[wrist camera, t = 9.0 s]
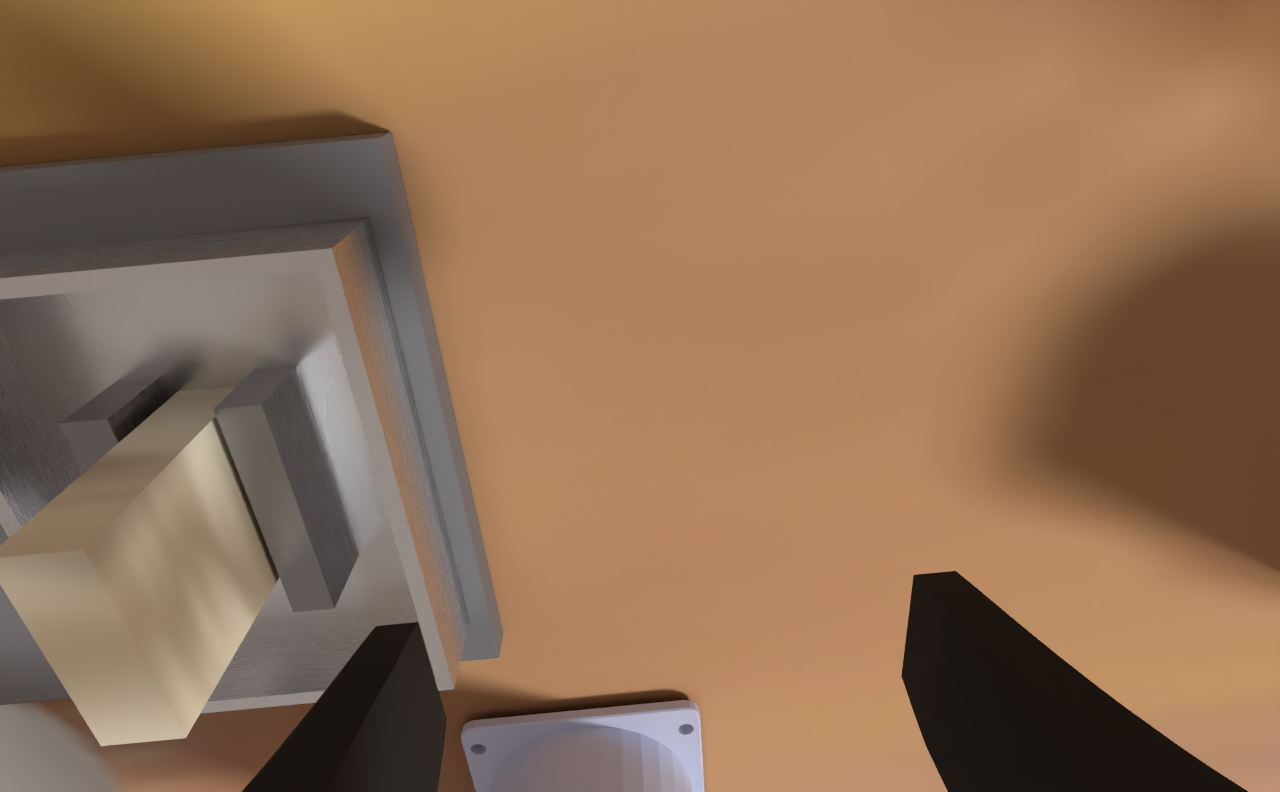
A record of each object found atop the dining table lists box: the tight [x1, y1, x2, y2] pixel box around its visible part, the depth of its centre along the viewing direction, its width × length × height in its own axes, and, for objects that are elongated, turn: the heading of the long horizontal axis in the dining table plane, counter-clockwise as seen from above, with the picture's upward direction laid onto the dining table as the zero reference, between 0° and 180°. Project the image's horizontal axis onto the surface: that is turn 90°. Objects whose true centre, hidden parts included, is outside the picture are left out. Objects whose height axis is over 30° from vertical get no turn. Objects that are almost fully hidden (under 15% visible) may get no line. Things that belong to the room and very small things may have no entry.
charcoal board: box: [0, 132, 503, 705], centre depth 19 cm, size 15×20×1 cm
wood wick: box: [0, 386, 279, 746], centre depth 15 cm, size 4×2×6 cm, turn 5°
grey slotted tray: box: [0, 217, 469, 714], centre depth 17 cm, size 12×9×2 cm
